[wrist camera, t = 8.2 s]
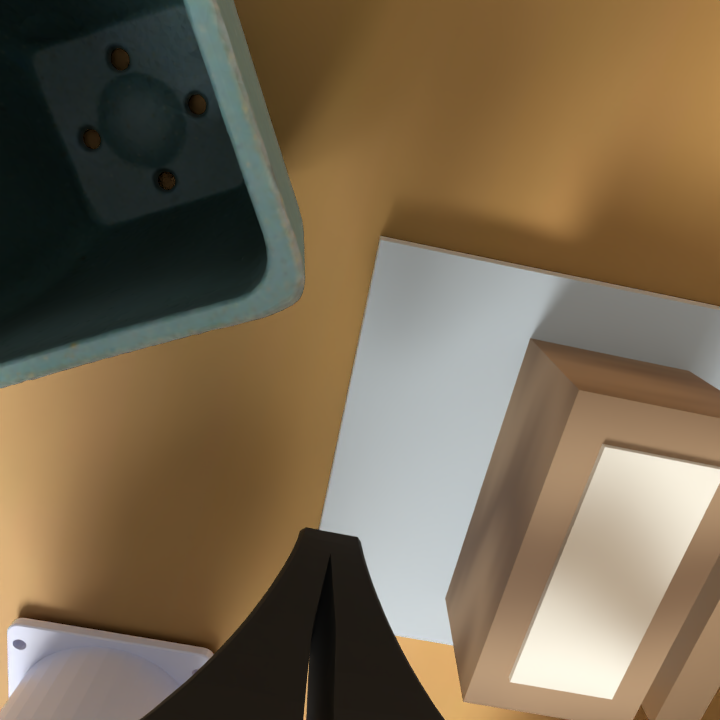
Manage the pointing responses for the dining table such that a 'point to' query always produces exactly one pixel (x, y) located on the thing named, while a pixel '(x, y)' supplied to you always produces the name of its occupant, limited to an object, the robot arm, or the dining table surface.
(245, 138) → the flower pot
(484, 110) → the dining table surface
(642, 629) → the frame
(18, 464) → the dining table surface
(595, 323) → the wall panel
